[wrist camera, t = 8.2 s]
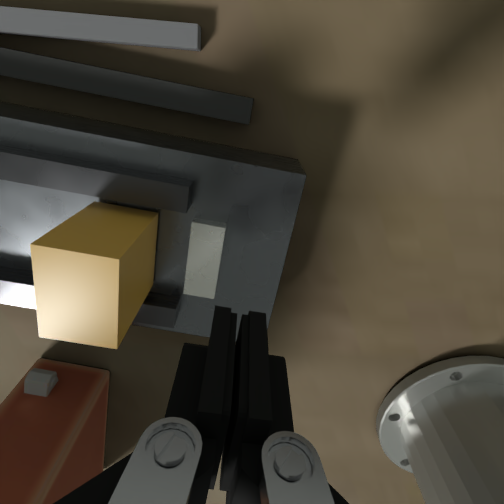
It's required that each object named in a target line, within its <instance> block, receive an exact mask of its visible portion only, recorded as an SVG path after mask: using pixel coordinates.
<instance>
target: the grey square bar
mask: <svg viewBox="0 0 504 504" xmlns="http://www.w3.org/2000/svg"><path fill="white" fill-rule="evenodd" d="M0 33H2V34H13V35H24V36H35V37H47V38H58V39H69V40H80V41H92V42H103V43H114V44H125V45H137V46H148V47H159V48H170V49H181V50H193V51H201V27H200V26H199V25H198V24H194V23H182V22H171V21H160V20H149V19H138V18H127V17H116V16H105V15H94V14H82V13H71V12H60V11H49V10H38V9H27V8H16V7H5V6H0Z"/></svg>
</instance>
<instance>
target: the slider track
mask: <svg viewBox="0 0 504 504" xmlns="http://www.w3.org/2000/svg"><path fill="white" fill-rule="evenodd" d="M305 179H306V174H305V172H304V170H303V168H302V166H301V164H300V163H299V161H298V159H293V158H288V157H283V156H278V155H272V154H267V153H262V152H257V151H252V150H247V149H242V148H237V147H231V146H226V145H221V144H216V143H211V142H206V141H201V140H196V139H190V138H185V137H180V136H175V135H170V134H165V133H160V132H155V131H150V130H144V129H139V128H134V127H129V126H124V125H119V124H114V123H109V122H103V121H98V120H93V119H88V118H83V117H78V116H73V115H68V114H62V113H57V112H52V111H47V110H42V109H37V108H32V107H27V106H22V105H16V104H11V103H6V102H1V101H0V303H1V304H8V305H14V306H20V307H26V308H32V309H36V300H35V290H34V280H33V270H32V259H31V249H30V244H31V243H32V242H34V241H35V240H37V239H38V238H40V237H41V236H43V235H44V234H46V233H47V232H49V231H50V230H52V229H53V228H55V227H56V226H58V225H59V224H61V223H63V222H64V221H66V220H67V219H69V218H70V217H72V216H73V215H75V214H76V213H78V212H79V211H81V210H82V209H84V208H85V207H87V206H88V205H90V204H91V203H93V202H94V201H96V202H102V203H107V204H113V205H118V206H124V207H129V208H135V209H140V210H146V211H151V212H157V213H158V226H157V240H156V253H155V267H154V280H153V286H152V288H151V289H150V291H149V293H148V295H147V297H146V298H145V300H144V302H143V304H142V306H141V307H140V309H139V311H138V313H137V315H136V316H135V318H134V320H133V322H132V324H131V325H137V326H143V327H149V328H155V329H162V330H168V331H174V332H180V333H186V334H192V335H198V336H205V337H210V334H211V328H212V322H213V316H214V310H215V305H216V306H222V307H229V308H231V312H232V313H237V327H236V340H237V335H238V331H239V326H240V321H241V317H242V314H245V315H248V313H249V311H255V312H262V313H266V321H267V329H268V325H269V321H270V317H271V313H272V309H273V305H274V301H275V297H276V293H277V289H278V285H279V281H280V277H281V274H282V270H283V266H284V262H285V258H286V254H287V250H288V246H289V242H290V238H291V234H292V230H293V226H294V222H295V218H296V214H297V210H298V207H299V203H300V199H301V195H302V191H303V187H304V183H305Z"/></svg>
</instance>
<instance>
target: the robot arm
mask: <svg viewBox="0 0 504 504" xmlns="http://www.w3.org/2000/svg"><path fill="white" fill-rule="evenodd" d="M236 327H237V313H232V312H231V308H229V307H222V306H216V305H215V310H214V316H213V322H212V328H211V334H210V340H209V346H204V345H197V344H190V343H184V346H183V349H182V353H181V357H180V361H179V364H178V368H177V372H176V376H175V380H174V384H173V387H172V391H171V395H170V399H169V403H168V407H167V410H166V414H165V418H162V419H160V420H158V421H156V422H154V423H152V424H151V425H150V426H149V427H147V428H146V430H145V431H144V433H143V434H142V436H141V437H140V439H139V441H138V443H137V445H136V447H135V450H134V452H133V453H131V454H129V455H128V456H126V457H125V458H123V459H122V460H120V461H119V462H117V463H115V464H114V465H112V466H111V467H109V468H108V469H106V470H105V471H103V472H101V473H100V474H98V475H97V476H95V477H94V478H92V479H90V480H89V481H87V482H86V483H84V484H83V485H81V486H80V487H78V488H76V489H75V490H73V491H72V492H70V493H69V494H67V495H65V496H64V497H62V498H61V499H59V500H58V501H56V502H55V503H53V504H205V503H206V499H207V494H208V490H209V489H214V486H215V481H216V477H217V473H218V468H219V464H220V460H221V455H222V463H221V476H220V490H222V491H227V493H226V504H349V503H348V502H347V501H346V500H345V499H344V498H343V497H342V496H341V495H340V494H339V493H338V492H337V491H336V490H335V489H334V488H333V487H332V486H331V485H330V484H329V483H328V482H327V479H326V476H325V473H324V469H323V466H322V463H321V460H320V457H319V455H318V453H317V451H316V449H315V448H314V446H313V445H312V444H311V443H310V442H309V441H308V440H307V439H305V438H304V437H303V436H301V435H299V434H297V433H294V428H293V420H292V411H291V403H290V394H289V386H288V378H287V369H286V362H285V358H284V357H281V356H274V355H269V354H268V338H267V321H266V313H262V312H255V311H249V313H248V315H245V314H242V317H241V321H240V326H239V331H238V335H237V340H236ZM235 342H236V345H235ZM376 431H377V434H378V438H379V441H380V444H381V446H382V448H383V451H384V453H385V454H386V455H387V456H388V458H389V459H390V460H391V461H392V462H393V463H395V464H396V465H397V466H399V467H400V468H402V469H404V470H407V471H409V472H411V473H413V474H414V476H415V479H416V481H417V484H418V486H419V489H420V491H421V494H422V496H423V499H424V501H425V504H504V358H498V357H492V356H464V357H456V358H451V359H447V360H443V361H439V362H436V363H433V364H431V365H429V366H426V367H424V368H421V369H419V370H418V371H416V372H414V373H413V374H411V375H409V376H408V377H406V378H405V379H404V380H402V381H401V382H400V383H399V384H397V385H396V386H395V387H394V388H393V389H392V390H391V391H390V393H389V394H388V395H387V396H386V397H385V399H384V401H383V402H382V404H381V406H380V408H379V411H378V414H377V418H376Z"/></svg>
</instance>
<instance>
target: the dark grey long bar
mask: <svg viewBox="0 0 504 504" xmlns="http://www.w3.org/2000/svg"><path fill="white" fill-rule="evenodd" d="M0 75H3V76H8V77H13V78H18V79H23V80H28V81H33V82H38V83H43V84H48V85H53V86H58V87H63V88H68V89H73V90H78V91H83V92H88V93H93V94H98V95H103V96H108V97H113V98H118V99H123V100H128V101H133V102H138V103H143V104H148V105H153V106H158V107H163V108H168V109H173V110H178V111H183V112H188V113H193V114H198V115H203V116H208V117H213V118H218V119H223V120H228V121H233V122H238V123H243V124H248V125H249V123H250V117H251V111H252V105H253V98H248V97H243V96H238V95H233V94H229V93H224V92H219V91H214V90H209V89H204V88H199V87H194V86H189V85H184V84H180V83H175V82H170V81H165V80H160V79H155V78H150V77H145V76H140V75H135V74H131V73H126V72H121V71H116V70H111V69H106V68H101V67H96V66H91V65H86V64H82V63H77V62H72V61H67V60H62V59H57V58H52V57H47V56H42V55H37V54H33V53H28V52H23V51H18V50H13V49H8V48H3V47H0Z"/></svg>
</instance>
